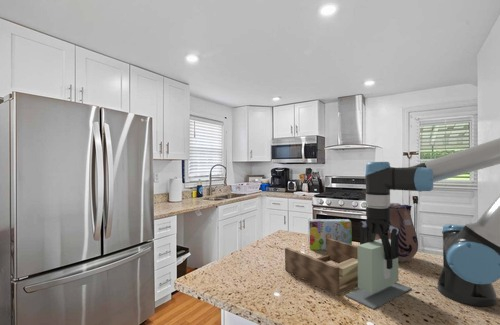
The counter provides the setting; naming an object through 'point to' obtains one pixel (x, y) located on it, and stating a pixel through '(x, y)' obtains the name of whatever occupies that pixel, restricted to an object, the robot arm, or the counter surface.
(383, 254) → the pale green block
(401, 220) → the ceramic pitcher
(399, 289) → the mat
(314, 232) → the snack box
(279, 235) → the counter surface
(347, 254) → the rack
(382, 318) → the counter surface
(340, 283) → the offcut stack
